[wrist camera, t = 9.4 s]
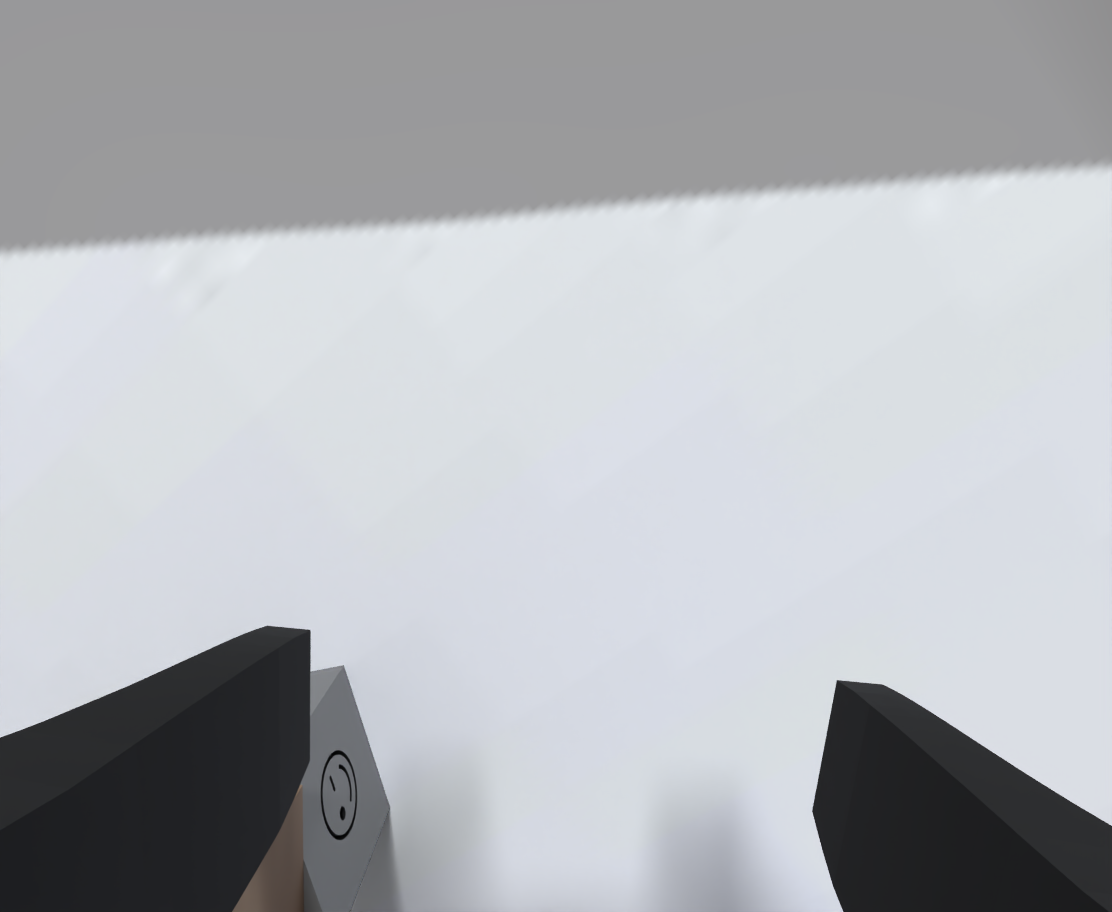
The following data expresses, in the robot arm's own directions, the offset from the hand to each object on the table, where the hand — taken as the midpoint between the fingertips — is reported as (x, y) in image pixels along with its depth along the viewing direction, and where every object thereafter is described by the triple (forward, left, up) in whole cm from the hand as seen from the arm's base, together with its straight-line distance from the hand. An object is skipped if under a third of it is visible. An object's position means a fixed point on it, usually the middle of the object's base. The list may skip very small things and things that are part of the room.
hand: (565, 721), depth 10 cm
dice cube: (+8, +9, -11) cm, 16 cm away
